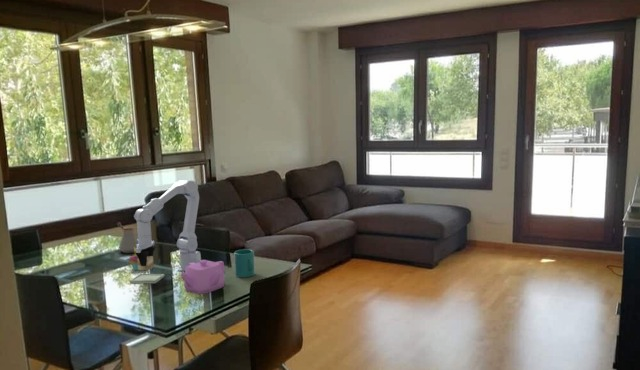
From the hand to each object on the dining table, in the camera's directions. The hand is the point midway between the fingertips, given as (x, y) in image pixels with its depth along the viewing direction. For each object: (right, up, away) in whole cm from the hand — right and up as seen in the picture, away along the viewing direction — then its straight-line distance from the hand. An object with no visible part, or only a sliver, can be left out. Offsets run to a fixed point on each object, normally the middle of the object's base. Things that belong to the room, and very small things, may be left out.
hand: (146, 264), depth 217 cm
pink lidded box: (+30, -9, -13) cm, 34 cm away
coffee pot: (-32, -1, +57) cm, 66 cm away
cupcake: (-11, -6, +19) cm, 23 cm away
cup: (+46, -6, +3) cm, 46 cm away
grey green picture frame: (0, -7, +1) cm, 7 cm away
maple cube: (0, -2, 0) cm, 2 cm away
